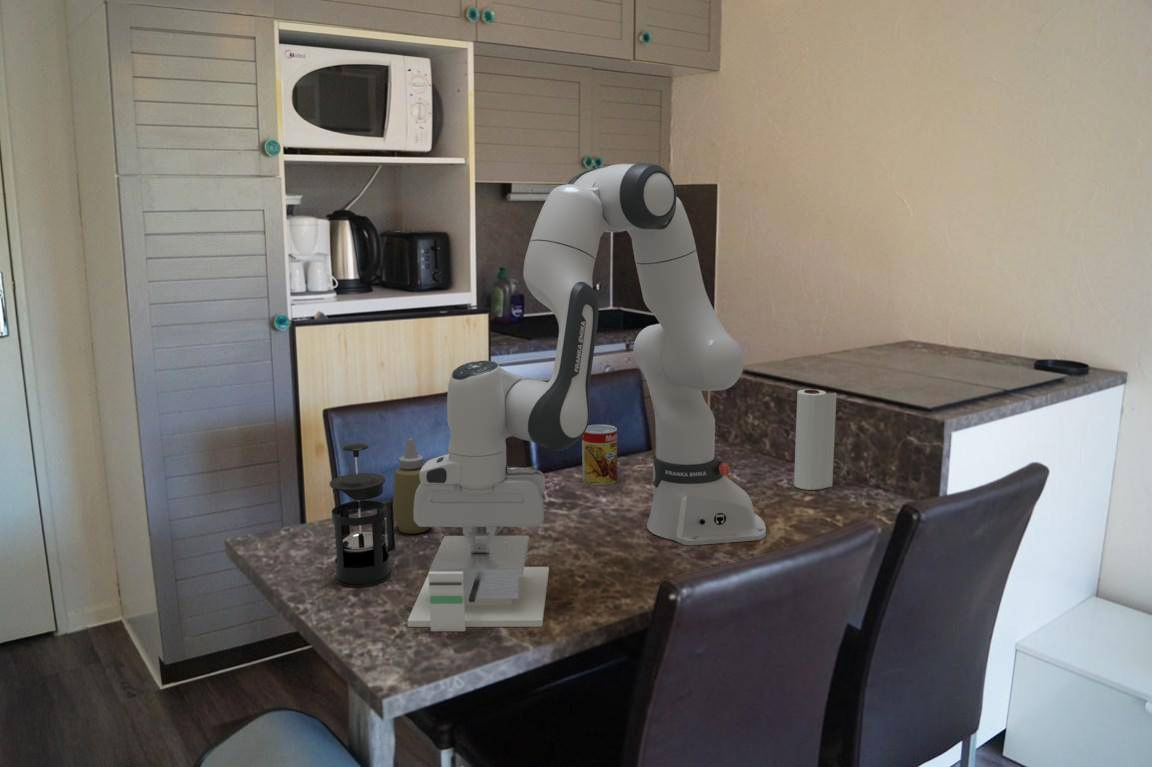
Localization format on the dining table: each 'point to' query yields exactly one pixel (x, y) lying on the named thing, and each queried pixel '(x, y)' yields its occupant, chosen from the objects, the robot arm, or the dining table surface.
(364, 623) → the dining table surface
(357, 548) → the french press
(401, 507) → the squeeze bottle
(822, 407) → the paper towel roll
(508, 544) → the pan
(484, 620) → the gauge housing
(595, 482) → the canned food
